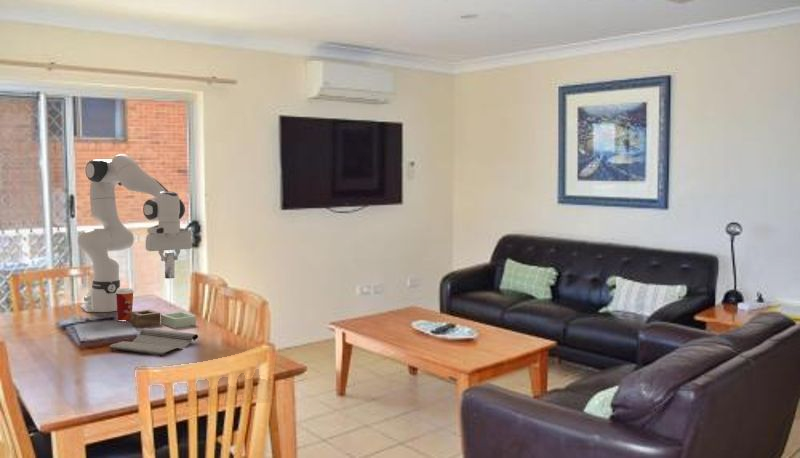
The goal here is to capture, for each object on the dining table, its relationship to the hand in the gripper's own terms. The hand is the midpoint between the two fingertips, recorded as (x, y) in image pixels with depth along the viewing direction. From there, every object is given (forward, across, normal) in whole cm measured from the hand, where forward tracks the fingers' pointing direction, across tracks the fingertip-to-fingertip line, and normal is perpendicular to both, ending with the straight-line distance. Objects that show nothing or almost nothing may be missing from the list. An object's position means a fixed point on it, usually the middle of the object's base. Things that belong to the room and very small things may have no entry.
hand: (169, 260), depth 289 cm
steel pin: (+8, 0, 0) cm, 8 cm away
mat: (+30, +23, +31) cm, 49 cm away
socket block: (+28, +8, -8) cm, 30 cm away
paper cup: (+28, +11, -20) cm, 36 cm away
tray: (+28, -3, +2) cm, 29 cm away
